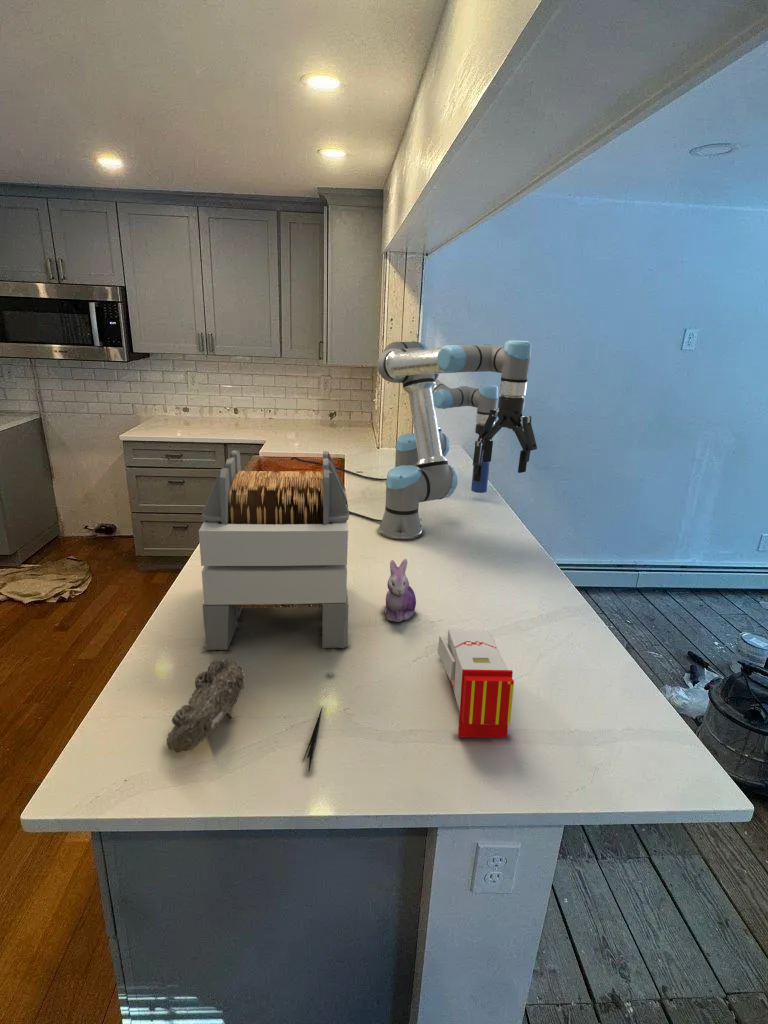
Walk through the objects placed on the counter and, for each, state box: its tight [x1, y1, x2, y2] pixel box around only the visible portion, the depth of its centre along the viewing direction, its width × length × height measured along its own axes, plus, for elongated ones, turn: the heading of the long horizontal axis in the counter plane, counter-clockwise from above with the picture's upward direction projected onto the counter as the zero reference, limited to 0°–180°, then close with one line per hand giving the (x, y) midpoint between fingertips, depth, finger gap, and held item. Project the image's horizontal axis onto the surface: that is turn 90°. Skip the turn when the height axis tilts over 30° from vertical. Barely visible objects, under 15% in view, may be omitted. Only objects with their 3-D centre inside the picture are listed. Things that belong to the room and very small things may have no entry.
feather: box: [301, 673, 332, 771], centre depth 108 cm, size 2×28×2 cm
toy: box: [437, 628, 515, 738], centre depth 117 cm, size 12×13×30 cm
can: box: [470, 459, 491, 494], centre depth 236 cm, size 6×6×13 cm
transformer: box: [198, 449, 350, 651], centre depth 138 cm, size 34×33×41 cm
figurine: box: [384, 558, 417, 623], centre depth 145 cm, size 9×10×15 cm
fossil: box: [166, 658, 245, 754], centre depth 106 cm, size 22×10×15 cm
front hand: (503, 466), depth 172 cm, fingers open, 13 cm apart
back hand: (479, 478), depth 236 cm, fingers closed on can, 6 cm apart
